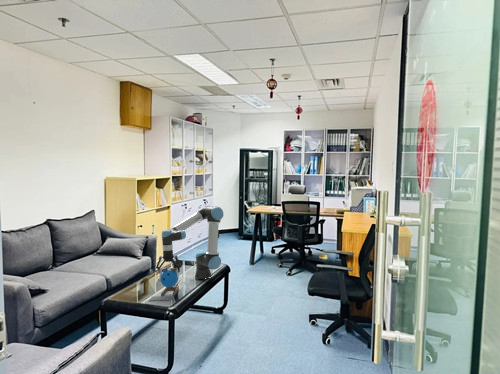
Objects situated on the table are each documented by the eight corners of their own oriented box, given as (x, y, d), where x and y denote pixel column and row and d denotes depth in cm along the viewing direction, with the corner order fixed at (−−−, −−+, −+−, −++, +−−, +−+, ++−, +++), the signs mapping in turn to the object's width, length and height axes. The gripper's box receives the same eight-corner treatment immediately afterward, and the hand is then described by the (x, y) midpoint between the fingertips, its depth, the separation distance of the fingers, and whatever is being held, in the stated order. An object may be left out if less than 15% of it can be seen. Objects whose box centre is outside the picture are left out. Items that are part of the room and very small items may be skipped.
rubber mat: (173, 296, 254) (173, 295, 254) (170, 300, 246) (170, 299, 246) (152, 297, 254) (152, 296, 254) (148, 301, 246) (148, 300, 246)
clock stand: (178, 289, 270) (178, 286, 270) (174, 296, 255) (173, 293, 255) (166, 289, 270) (166, 286, 270) (161, 296, 255) (160, 293, 255)
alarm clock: (179, 284, 264) (178, 266, 264) (177, 287, 258) (176, 268, 258) (162, 285, 265) (161, 266, 264) (160, 288, 259) (159, 269, 258)
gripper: (150, 251, 257) (152, 278, 258) (182, 250, 256) (184, 277, 257) (153, 249, 265) (155, 275, 265) (184, 248, 264) (186, 274, 265)
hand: (169, 276), depth 261 cm, fingers closed on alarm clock, 13 cm apart
